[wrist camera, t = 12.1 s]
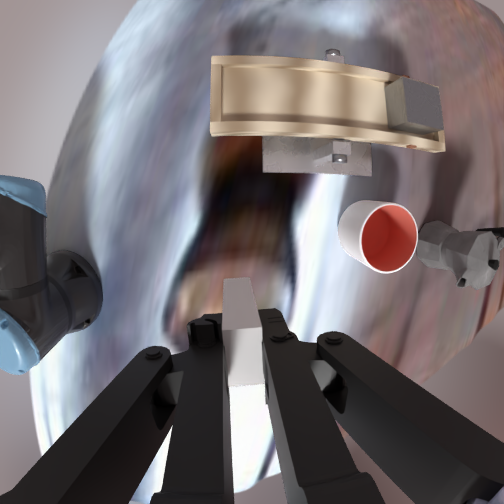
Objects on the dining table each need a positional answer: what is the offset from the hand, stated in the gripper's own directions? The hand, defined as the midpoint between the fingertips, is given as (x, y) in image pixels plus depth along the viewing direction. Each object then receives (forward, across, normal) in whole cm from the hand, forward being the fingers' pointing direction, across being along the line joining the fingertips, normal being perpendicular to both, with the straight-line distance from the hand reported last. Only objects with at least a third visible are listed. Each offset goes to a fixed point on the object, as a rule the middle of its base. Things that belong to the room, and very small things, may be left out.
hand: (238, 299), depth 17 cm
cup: (+29, +22, -1) cm, 37 cm away
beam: (+19, +14, +18) cm, 30 cm away
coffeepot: (+29, +39, -4) cm, 48 cm away
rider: (+18, +24, +17) cm, 34 cm away
